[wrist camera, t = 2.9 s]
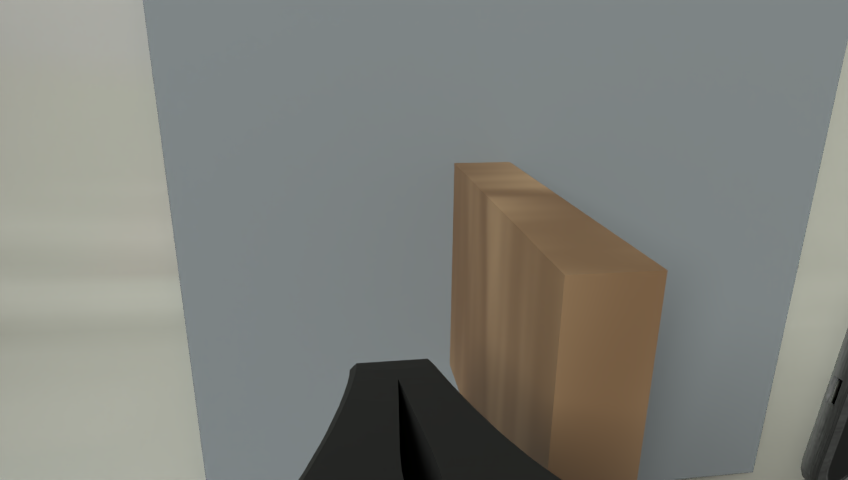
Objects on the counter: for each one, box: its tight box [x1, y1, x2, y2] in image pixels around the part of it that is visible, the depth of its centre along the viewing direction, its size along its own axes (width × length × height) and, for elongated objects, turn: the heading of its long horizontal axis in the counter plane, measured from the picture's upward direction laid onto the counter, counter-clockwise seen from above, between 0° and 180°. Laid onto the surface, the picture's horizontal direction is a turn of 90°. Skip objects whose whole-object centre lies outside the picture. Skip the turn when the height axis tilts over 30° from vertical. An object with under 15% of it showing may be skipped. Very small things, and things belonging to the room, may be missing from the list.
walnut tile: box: [450, 162, 668, 480], centre depth 13 cm, size 2×6×8 cm, turn 0°
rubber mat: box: [143, 0, 848, 480], centre depth 17 cm, size 18×16×1 cm
